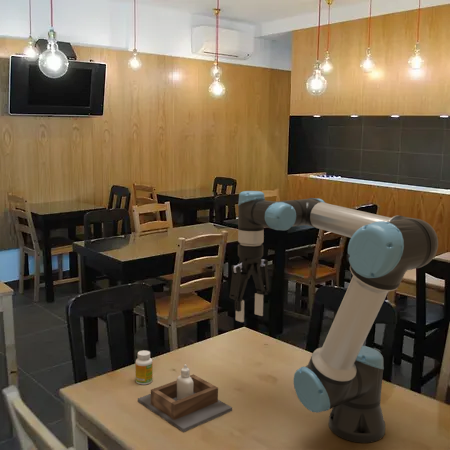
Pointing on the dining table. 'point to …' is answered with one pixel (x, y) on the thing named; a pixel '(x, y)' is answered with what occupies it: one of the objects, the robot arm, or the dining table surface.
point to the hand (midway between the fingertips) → (249, 317)
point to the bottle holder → (186, 404)
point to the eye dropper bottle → (184, 384)
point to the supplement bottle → (143, 368)
